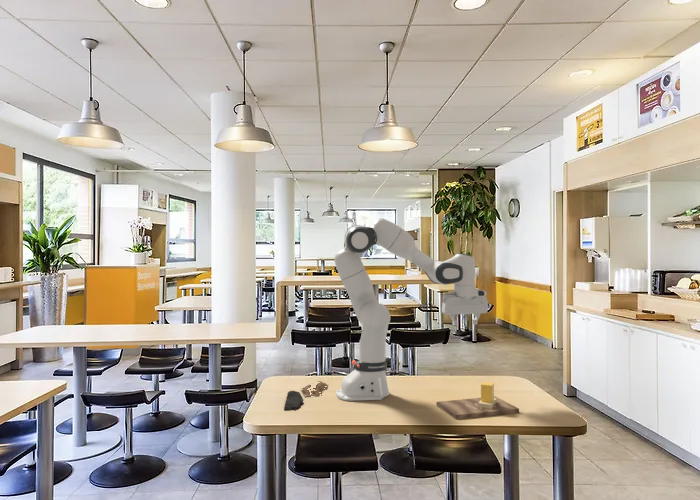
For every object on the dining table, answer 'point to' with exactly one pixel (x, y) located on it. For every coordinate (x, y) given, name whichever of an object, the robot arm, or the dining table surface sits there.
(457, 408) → the walnut board
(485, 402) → the block
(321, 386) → the wooden fragment
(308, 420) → the dining table surface
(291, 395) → the dark grey tapered piece
